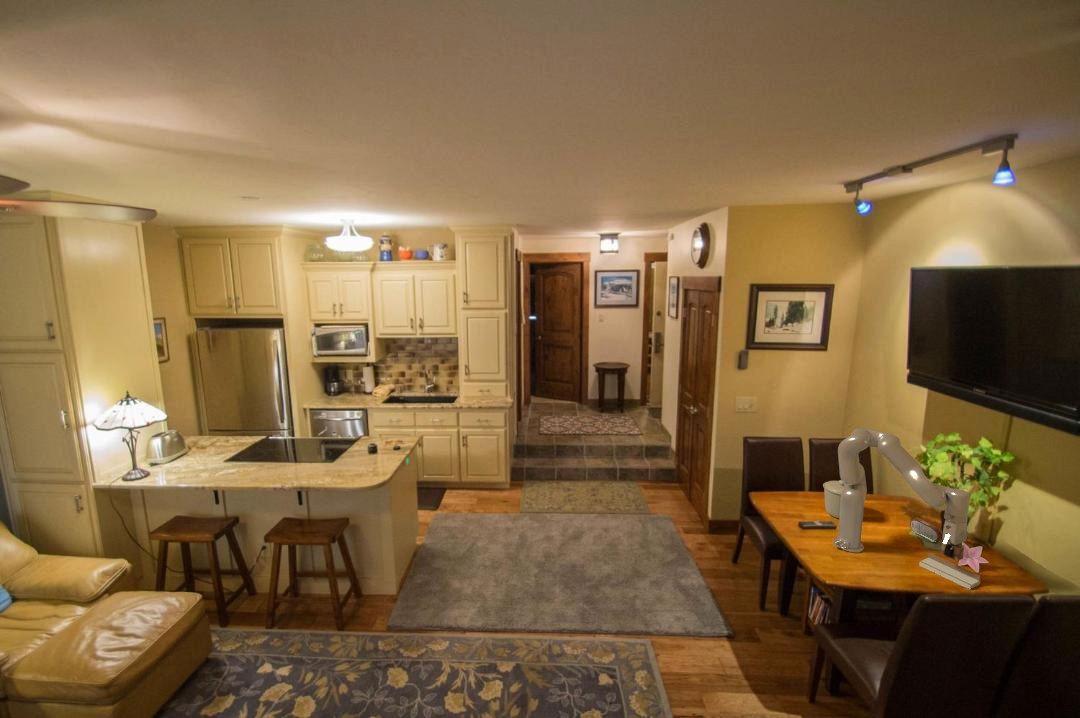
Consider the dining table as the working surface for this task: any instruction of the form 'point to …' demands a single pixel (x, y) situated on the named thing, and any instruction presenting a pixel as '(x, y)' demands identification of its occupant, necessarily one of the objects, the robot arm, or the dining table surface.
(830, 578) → the dining table surface
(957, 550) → the crate
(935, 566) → the bar
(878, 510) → the dining table surface
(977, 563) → the lily
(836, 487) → the canister
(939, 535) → the tin
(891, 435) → the robot arm
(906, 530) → the dining table surface
